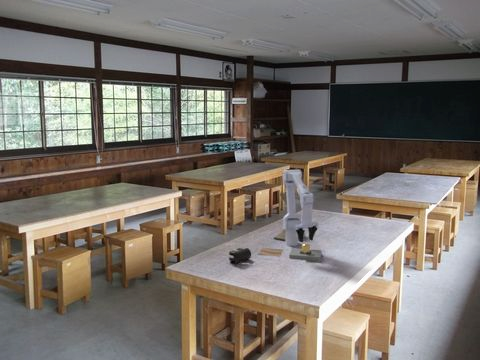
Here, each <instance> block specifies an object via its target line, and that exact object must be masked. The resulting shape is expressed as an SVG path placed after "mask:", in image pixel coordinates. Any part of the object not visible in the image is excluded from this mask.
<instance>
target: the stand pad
mask: <svg viewBox="0 0 480 360" xmlns="http://www.w3.org/2000/svg"><path fill="white" fill-rule="evenodd" d="M283 251H284V249H281V248H280V249H277V248H265V247H262V248H261V249H260V251H259V252H258V254H257V255H258V256H269V257H281V256H282V253H283Z"/></svg>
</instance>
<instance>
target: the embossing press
mask: <svg viewBox="0 0 480 360" xmlns="http://www.w3.org/2000/svg"><path fill="white" fill-rule="evenodd" d="M279 195H280V198H281V199H282V200H283V201H284V203H285V205H286V206H287V197H286V192H283V191H281V192H280V194H279ZM289 219H295V218H289ZM285 237H286V230H284V229H283V230H282V232H281V233H279V234H278V235H275V236H273V240H275V241H282V242H285Z"/></svg>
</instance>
